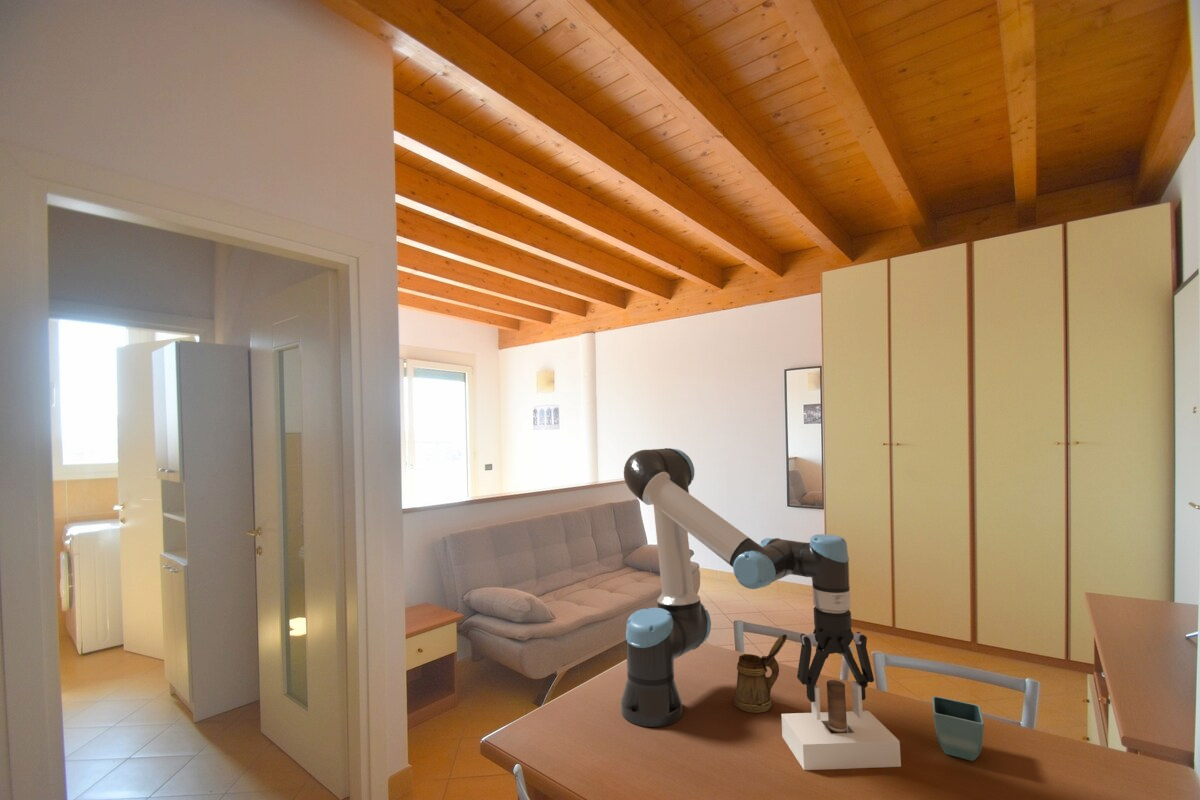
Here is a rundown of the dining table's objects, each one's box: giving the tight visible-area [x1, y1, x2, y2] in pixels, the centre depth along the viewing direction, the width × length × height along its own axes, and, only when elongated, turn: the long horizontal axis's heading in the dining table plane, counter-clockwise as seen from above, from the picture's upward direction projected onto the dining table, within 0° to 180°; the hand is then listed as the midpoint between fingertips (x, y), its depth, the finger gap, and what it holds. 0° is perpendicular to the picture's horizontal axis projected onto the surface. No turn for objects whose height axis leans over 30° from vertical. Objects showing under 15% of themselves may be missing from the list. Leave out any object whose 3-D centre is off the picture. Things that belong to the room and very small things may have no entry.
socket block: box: [780, 710, 902, 771], centre depth 114 cm, size 12×20×5 cm, turn 92°
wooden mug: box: [733, 634, 788, 714], centre depth 134 cm, size 9×14×18 cm, turn 72°
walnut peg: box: [826, 679, 847, 734], centre depth 114 cm, size 4×4×14 cm
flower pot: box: [931, 695, 985, 762], centre depth 113 cm, size 9×9×9 cm
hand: (837, 715), depth 115 cm, fingers open, 8 cm apart
